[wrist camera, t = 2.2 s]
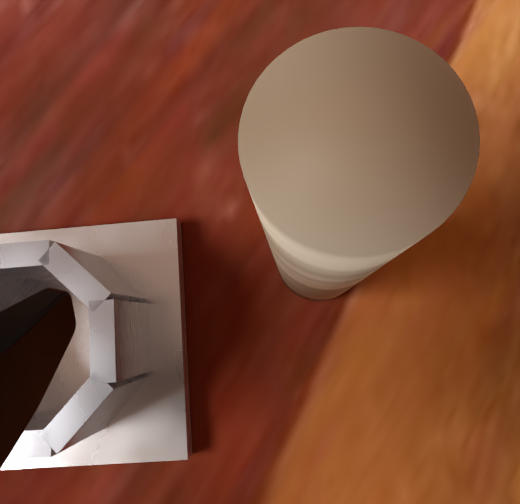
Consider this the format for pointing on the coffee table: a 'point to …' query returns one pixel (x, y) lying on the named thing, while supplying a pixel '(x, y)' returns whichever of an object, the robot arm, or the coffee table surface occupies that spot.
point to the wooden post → (354, 154)
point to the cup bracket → (107, 344)
